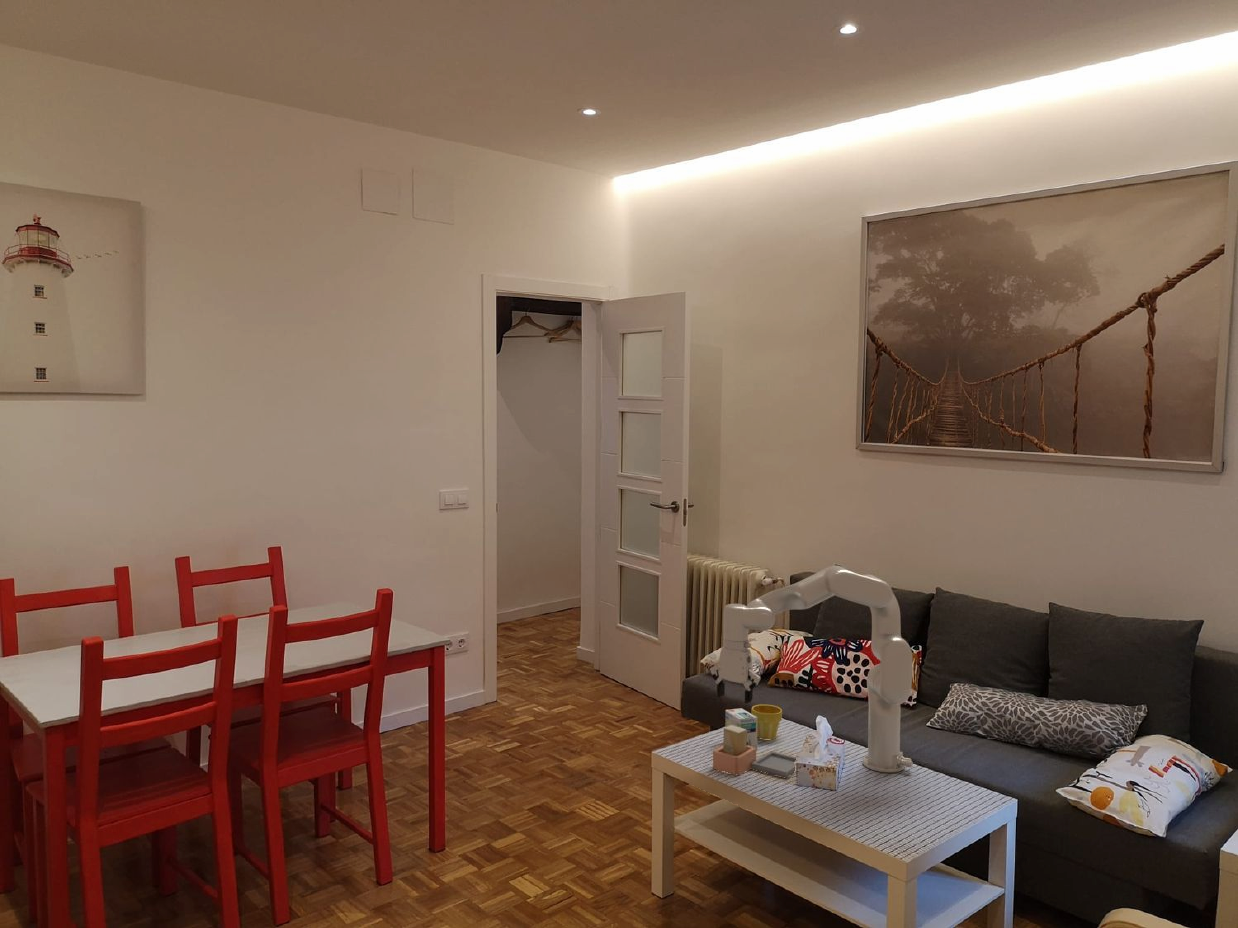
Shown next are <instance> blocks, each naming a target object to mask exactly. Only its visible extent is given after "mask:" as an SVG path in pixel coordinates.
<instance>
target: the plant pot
mask: <svg viewBox="0 0 1238 928" xmlns="http://www.w3.org/2000/svg"><path fill="white" fill-rule="evenodd" d="M750 710H751V711H750V713H751V714H752V715H754V716H756V717H758V722H757V737H758V738H757V739H759V738H762V739H774V738H775V739H776V737H777V734H778V730H779V726H780V722H781V721H782V718H783V710H782V708H780V707H779V706H776V705H773V704H757V705H756V704H755V705H753V706H752V707H751V709H750ZM775 739H774V740H775Z"/></svg>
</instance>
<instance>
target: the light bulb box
mask: <svg viewBox="0 0 1238 928" xmlns="http://www.w3.org/2000/svg"><path fill="white" fill-rule="evenodd" d="M757 722H758V717H756V716H754V715H752V714H751V712H749V711H747V710H745V709H744V708H741V707H740V708H733V709H725V727H727V726H730V725H734V726H737V727H740V728H743V729H746V730H747V745H748V746H752V747H754V748H757V749H758V738H757Z"/></svg>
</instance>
